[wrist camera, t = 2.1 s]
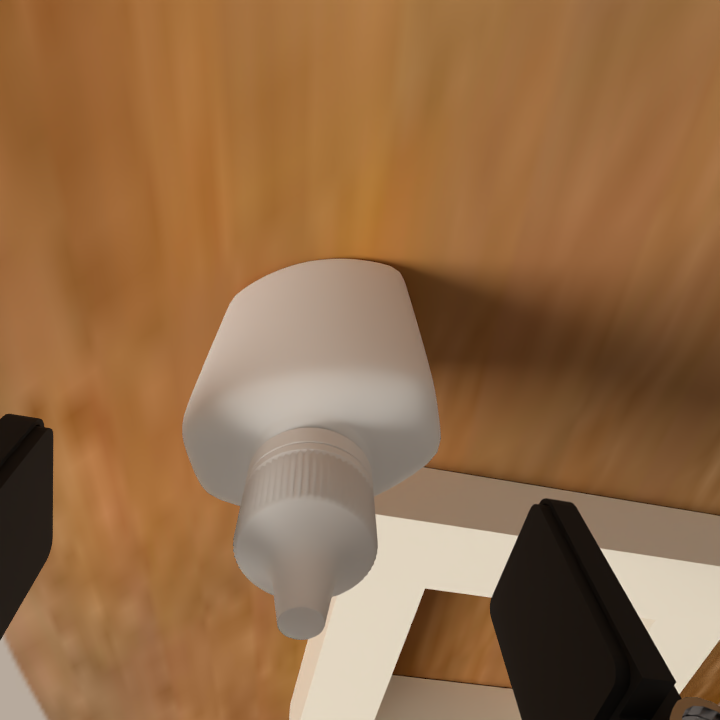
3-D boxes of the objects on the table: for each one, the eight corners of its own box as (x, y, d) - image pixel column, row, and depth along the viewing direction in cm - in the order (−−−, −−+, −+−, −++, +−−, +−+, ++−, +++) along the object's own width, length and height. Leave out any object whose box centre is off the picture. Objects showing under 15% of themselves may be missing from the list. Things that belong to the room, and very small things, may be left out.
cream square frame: (358, 456, 22) (361, 511, 19) (720, 516, 24) (768, 573, 21) (290, 704, 29) (285, 771, 26) (578, 735, 31) (601, 800, 28)
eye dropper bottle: (379, 387, 21) (424, 739, 10) (220, 342, 20) (84, 681, 9) (425, 273, 19) (540, 559, 8) (253, 217, 18) (129, 460, 7)
